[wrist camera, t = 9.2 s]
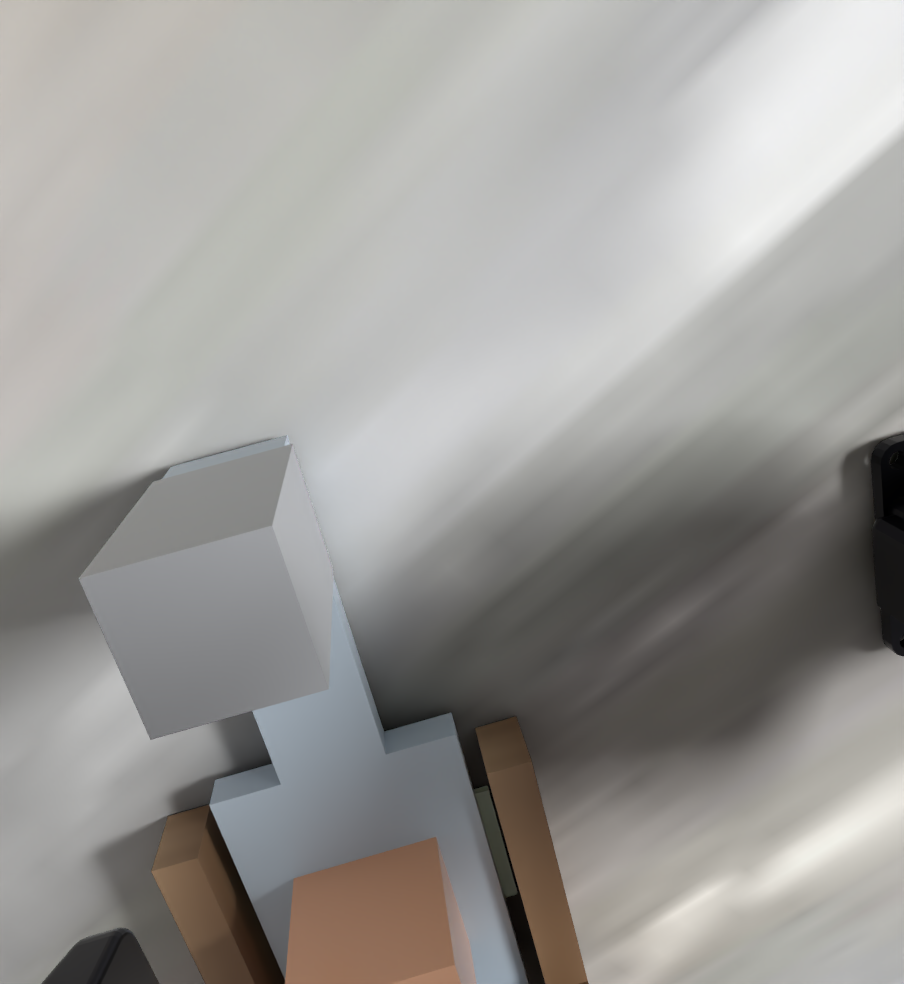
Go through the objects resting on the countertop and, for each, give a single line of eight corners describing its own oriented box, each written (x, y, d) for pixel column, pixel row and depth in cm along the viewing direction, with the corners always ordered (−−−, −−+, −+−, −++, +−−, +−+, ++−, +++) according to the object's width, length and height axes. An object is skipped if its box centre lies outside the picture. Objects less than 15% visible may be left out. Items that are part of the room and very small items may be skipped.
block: (436, 836, 22) (454, 964, 18) (469, 942, 23) (493, 1082, 19) (293, 878, 22) (282, 1016, 18) (336, 982, 23) (333, 1131, 19)
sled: (365, 414, 19) (373, 497, 13) (526, 972, 25) (581, 1199, 19) (91, 488, 19) (-27, 607, 13) (323, 1034, 25) (315, 1283, 19)
